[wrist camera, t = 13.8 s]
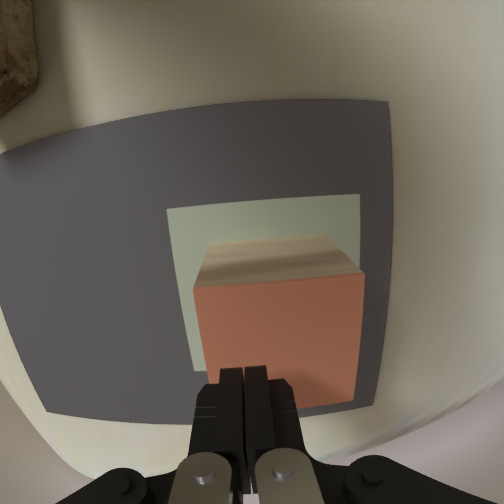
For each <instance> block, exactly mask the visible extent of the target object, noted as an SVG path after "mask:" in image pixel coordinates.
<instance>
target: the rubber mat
mask: <svg viewBox="0 0 504 504" xmlns="http://www.w3.org/2000/svg"><path fill="white" fill-rule="evenodd" d="M392 233H393V171H392V147H391V131H390V118H389V107H388V102H384V101H368V100H342V99H294V100H268V101H252V102H238V103H227V104H217V105H208V106H199V107H192V108H184V109H177V110H170V111H164V112H158V113H152V114H147V115H141V116H136V117H131V118H126V119H121V120H116V121H111V122H107V123H103V124H98V125H94V126H90V127H86V128H82V129H78V130H74V131H71V132H67V133H63V134H60V135H56V136H53V137H50V138H46V139H43V140H40V141H37V142H33V143H30V144H27V145H24V146H21V147H18V148H16V149H13V150H10V151H7V152H4V153H2V154H0V306H1V309H2V312H3V315H4V318H5V321H6V323H7V326H8V329H9V332H10V334H11V337H12V339H13V342H14V344H15V347H16V349H17V351H18V354H19V356H20V359H21V361H22V363H23V365H24V368H25V370H26V372H27V374H28V376H29V378H30V380H31V382H32V384H33V386H34V388H35V390H36V392H37V394H38V396H39V398H40V400H41V402H42V404H43V406H44V408H45V409H46V411H47V412H51V413H57V414H63V415H69V416H76V417H83V418H91V419H100V420H109V421H120V422H134V423H151V424H193V419H194V412H195V408H196V400H197V394H198V393H199V392H200V390H201V389H202V388H203V386H204V385H205V384H209V380H208V375H207V369H206V364H205V359H204V353H203V348H202V342H201V337H200V331H199V325H198V319H197V313H196V307H195V301H194V295H193V287H194V284H195V281H196V279H197V276H198V273H199V270H200V267H201V265H202V262H203V259H204V256H205V254H206V251H207V248H208V245H209V243H221V242H233V241H245V240H257V239H269V238H282V237H294V236H307V235H320V234H325V235H326V236H327V237H328V238H329V239H330V240H331V241H332V242H333V243H334V244H335V245H336V246H337V247H338V248H339V249H340V250H341V251H342V252H343V253H344V254H345V255H346V256H347V257H348V258H349V259H350V260H351V261H352V262H353V263H354V264H355V265H356V266H357V267H358V268H359V269H360V270H361V271H362V272H363V273H364V274H365V283H364V301H363V315H362V327H361V338H360V348H359V358H358V366H357V374H356V382H355V390H354V397H353V400H352V401H347V402H341V403H335V404H329V405H322V406H315V407H308V408H300V409H297V412H298V417H307V416H314V415H321V414H327V413H334V412H339V411H345V410H350V409H356V408H361V407H366V406H370V405H373V402H374V397H375V392H376V386H377V381H378V375H379V369H380V363H381V356H382V349H383V342H384V334H385V326H386V318H387V308H388V298H389V287H390V273H391V257H392Z"/></svg>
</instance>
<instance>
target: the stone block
mask: <svg viewBox="0 0 504 504" xmlns="http://www.w3.org/2000/svg"><path fill="white" fill-rule="evenodd" d="M33 21H34V18H33V9H32V2H31V0H0V117H2V116H3V115H4V114H6V113H7V112H8V111H9V110H10V109H12V108H13V107H14V106H16V104H17V102H18V101H19V100H20V99H23V98H24V97H25V96H27V95H28V94H30V93H31V92H33V91H34V90H35V88H36V86H37V85H38V82H37V77H38V61H37V49H36V43H35V37H34V30H33Z"/></svg>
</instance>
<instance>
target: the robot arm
mask: <svg viewBox="0 0 504 504" xmlns="http://www.w3.org/2000/svg"><path fill="white" fill-rule="evenodd" d="M250 478H251V481H250ZM251 483H252V489H253V493H254V494H257V493H258V495H259V502H260V504H497V503H494V502H491V501H488V500H485V499H483V498H480V497H477V496H474V495H472V494H469V493H466V492H464V491H461V490H459V489H456V488H454V487H451V486H449V485H446V484H444V483H442V482H439V481H437V480H434V479H432V478H430V477H427V476H425V475H423V474H421V473H419V472H417V471H414V470H412V469H410V468H408V467H406V466H404V465H401V464H399V463H397V462H395V461H393V460H391V459H389V458H387V457H384V456H379V455H369V456H364V457H361V458H359V459H357V460H356V461H354V462H353V463H351V464H350V466H340V465H329V464H324V463H321V462H319V461H317V460H315V459H313V458H312V457H311V456H310V455H309V454H308V453H307V451H306V449H305V446H304V441H303V436H302V432H301V427H300V422H299V417H298V412H297V407H296V403H295V398H294V393H293V388H292V387H291V386H290V385H289V384H288V382H287V381H286V380H285V379H284V378H282V379H272V380H268V376H267V367H266V365H259V366H247V367H244V373H243V367H234V368H220V375H219V383H217V384H205V385H204V386H203V388H202V389H201V390H200V392H199V393H198V394H197V400H196V408H195V412H194V419H193V425H192V432H191V438H190V445H189V452H188V456H187V457H186V458H185V459H184V460H183V461H182V462H181V463H180V464H179V466H178V468H177V469H176V470H174V471H172V472H170V473H166V474H162V475H157V476H152V477H146V478H144V477H143V476H142V475H141V474H140V473H139V472H137V471H135V470H133V469H129V468H116V469H113V470H110V471H108V472H106V473H105V474H103V475H102V476H100V477H98V478H97V479H95V480H94V481H92V482H91V483H89V484H87V485H86V486H84V487H83V488H81V489H79V490H78V491H76V492H75V493H73V494H71V495H69V496H68V497H66V498H65V499H63V500H61V501H59V502H58V503H56V504H243V494H251Z"/></svg>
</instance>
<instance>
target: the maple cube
mask: <svg viewBox="0 0 504 504" xmlns="http://www.w3.org/2000/svg"><path fill="white" fill-rule="evenodd" d="M364 283H365V274H364V273H363V272H362V271H361V270H360V269H359V268H358V267H357V266H356V265H355V264H354V263H353V262H352V261H351V260H350V259H349V258H348V257H347V256H346V255H345V254H344V253H343V252H342V251H341V250H340V249H339V248H338V247H337V246H336V245H335V244H334V243H333V242H332V241H331V240H330V239H329V238H328V237H327V236H326V235H325V234H320V235H307V236H294V237H282V238H269V239H257V240H245V241H233V242H221V243H209V245H208V248H207V251H206V254H205V256H204V259H203V262H202V265H201V267H200V270H199V273H198V276H197V279H196V281H195V284H194V287H193V295H194V301H195V307H196V313H197V319H198V325H199V331H200V337H201V342H202V348H203V353H204V359H205V364H206V369H207V375H208V380H209V384H217V383H219V375H220V368H234V367H243V373H244V367H247V366H259V365H266V367H267V376H268V380H272V379H282V378H284V379H285V380H286V381H287V382H288V384H289V385H290V386H291V387H292V388H293V393H294V398H295V403H296V407H297V409H300V408H308V407H315V406H322V405H329V404H335V403H341V402H347V401H352V400H353V397H354V390H355V382H356V374H357V366H358V358H359V348H360V338H361V327H362V315H363V301H364Z"/></svg>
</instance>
